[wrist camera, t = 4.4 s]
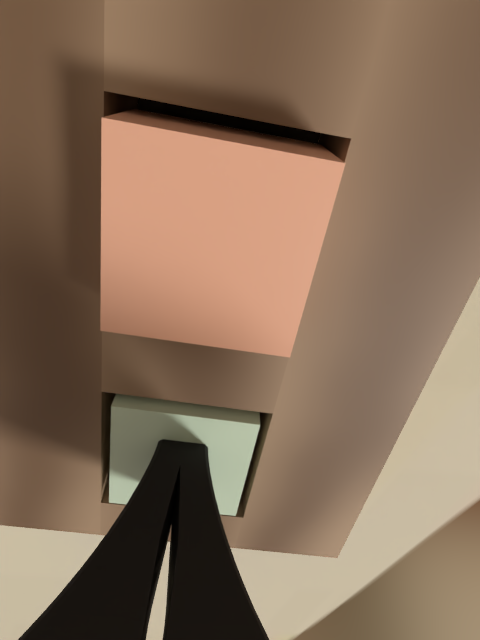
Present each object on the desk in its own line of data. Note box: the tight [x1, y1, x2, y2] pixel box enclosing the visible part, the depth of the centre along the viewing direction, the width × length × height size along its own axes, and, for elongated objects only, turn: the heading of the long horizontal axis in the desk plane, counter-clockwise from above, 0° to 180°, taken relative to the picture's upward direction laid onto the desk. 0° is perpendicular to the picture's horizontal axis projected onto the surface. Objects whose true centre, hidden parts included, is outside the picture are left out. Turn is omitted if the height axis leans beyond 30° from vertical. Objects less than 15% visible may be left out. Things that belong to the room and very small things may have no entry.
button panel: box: [0, 0, 480, 558], centre depth 10 cm, size 12×22×3 cm, turn 170°
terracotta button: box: [100, 109, 346, 358], centre depth 9 cm, size 4×4×2 cm
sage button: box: [109, 394, 260, 516], centre depth 13 cm, size 4×4×2 cm
